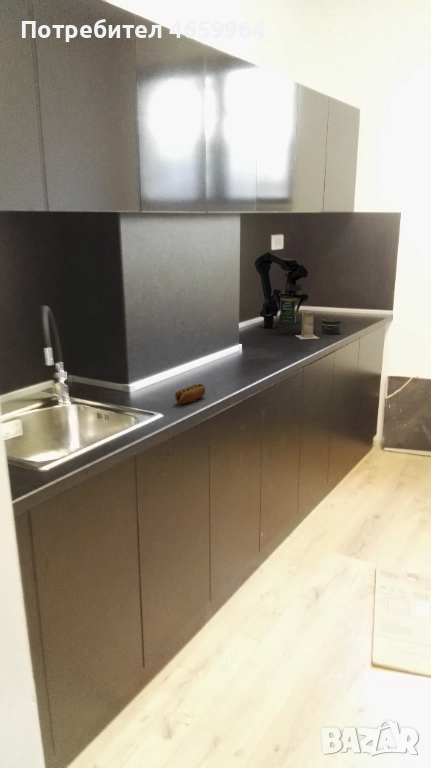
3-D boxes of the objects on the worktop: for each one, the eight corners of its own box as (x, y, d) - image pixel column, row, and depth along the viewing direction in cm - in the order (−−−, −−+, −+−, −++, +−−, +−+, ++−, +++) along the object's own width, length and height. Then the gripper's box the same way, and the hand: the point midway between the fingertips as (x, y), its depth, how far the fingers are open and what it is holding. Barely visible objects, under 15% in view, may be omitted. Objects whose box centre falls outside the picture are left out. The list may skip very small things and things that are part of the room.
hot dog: (171, 404, 195) (171, 390, 194) (196, 395, 205) (196, 381, 204) (182, 407, 192) (182, 393, 191) (207, 397, 202) (207, 384, 201)
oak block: (301, 336, 304) (302, 311, 300) (309, 335, 304) (310, 311, 301) (304, 337, 299) (305, 312, 296) (312, 337, 300) (313, 312, 296)
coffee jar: (277, 324, 340) (278, 292, 335) (281, 321, 347) (281, 290, 342) (294, 325, 337) (295, 292, 331) (297, 322, 344) (298, 291, 339)
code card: (294, 335, 306) (294, 335, 306) (312, 335, 308) (312, 334, 307) (301, 339, 296) (301, 339, 296) (319, 338, 298) (319, 338, 298)
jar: (343, 333, 312) (343, 319, 310) (335, 336, 304) (335, 322, 302) (326, 331, 318) (326, 317, 315) (317, 334, 310) (318, 320, 308)
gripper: (276, 274, 296) (273, 303, 293) (312, 280, 296) (309, 309, 294) (272, 282, 307) (269, 310, 304) (307, 287, 307) (304, 315, 304)
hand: (288, 311), depth 301 cm, fingers open, 9 cm apart
